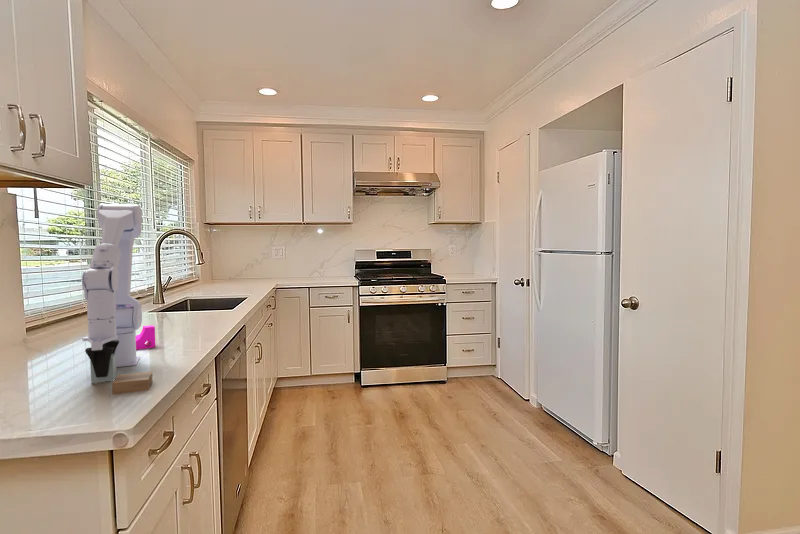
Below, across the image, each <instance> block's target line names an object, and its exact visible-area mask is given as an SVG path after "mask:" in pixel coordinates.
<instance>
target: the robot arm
mask: <svg viewBox="0 0 800 534" xmlns="http://www.w3.org/2000/svg"><path fill="white" fill-rule="evenodd" d="M96 208H97V209H96V220H97V223H98V224H99V227H100V229H101V231H102V234H101V241H100V244H98V245H97V246H96V247H94V249H93V253H92V258H91V261H90V265H89V267H88V269H87V270H84V271H83V272H82V277H81V284H82V286H81V287H82V289H83V293H84V300H86V304H87V305H86V306H87V308H86V309H87V311H86V313H87V332H88V333H87V334H88V335H87V336H84V337H82V339H81V341H82V342H88V343H89V344H90V345H91V347H86V348H85V354H86V355H87V356H88V358H89V360H91V362H92V365H93V368H94V371H95V375H96V377H97V378H98V377H107V375H108V371H109V363H110V358H111V355H112V354H115V353H116V368H122V367H123V368H124V367H131V366H137V364H138V362H139V361H140V359H141V356H140V355H139V356H138V355H137V350H136V332H137V330H139V329H140V328H141V326H142V323H143V313H142V304H141V302H140V301H139V300H138V299H137V298H135V297H133V296H131V290H132V288H131V285H132V266H133V265H132V264H133V247H134V243H135V239H136V238H138V237H141V233H142V229H143V216H142V207H141V206H140V205H139V204H138V203H137V204H114V203H113V204H112V203H110V204H109V203H108V204H107V203H100V204H99V205H97V207H96Z"/></svg>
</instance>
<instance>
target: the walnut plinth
mask: <svg viewBox="0 0 800 534" xmlns="http://www.w3.org/2000/svg"><path fill="white" fill-rule="evenodd" d="M153 382H154V381H153V371H146V372H145V371H143V372H142V371H141V372H134V373H124V374H123V373H122V374H117V376H116V378H115V380H114V381H111V388H112V389H111V391H112V392H111V393H112V394H114V395H121V393H122V394H127V393H128V394H129V392H130V393H135V392H136V393H137V392H143V391H145V390H146V391H149V390H150V389H151V386H152V384H151V383H153Z"/></svg>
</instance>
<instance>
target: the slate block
mask: <svg viewBox="0 0 800 534" xmlns="http://www.w3.org/2000/svg"><path fill="white" fill-rule="evenodd" d="M89 360H90V359H89ZM89 362H90V365H89V366H90V384H91V383H95V384H98V383H97V382H103V383H106V382H105V381H111V382H113V380H114V379H115V377H117V376H118V374H117V367H116V353H115V354H112V355H111V358H110V363H109V371H108V375H107V377H98V378H97V377H96V375H95V371H94V368H93V365H92V362H91V360H90V361H89Z"/></svg>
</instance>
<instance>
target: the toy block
mask: <svg viewBox="0 0 800 534" xmlns="http://www.w3.org/2000/svg"><path fill="white" fill-rule="evenodd" d="M150 348H151V349H152V348H156V326H154V325H153V324H152V325H151V324H150V325H143V326H142V329H141V332H140V333H139V334H137V335H136V351H137V350H145V349H150Z"/></svg>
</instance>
